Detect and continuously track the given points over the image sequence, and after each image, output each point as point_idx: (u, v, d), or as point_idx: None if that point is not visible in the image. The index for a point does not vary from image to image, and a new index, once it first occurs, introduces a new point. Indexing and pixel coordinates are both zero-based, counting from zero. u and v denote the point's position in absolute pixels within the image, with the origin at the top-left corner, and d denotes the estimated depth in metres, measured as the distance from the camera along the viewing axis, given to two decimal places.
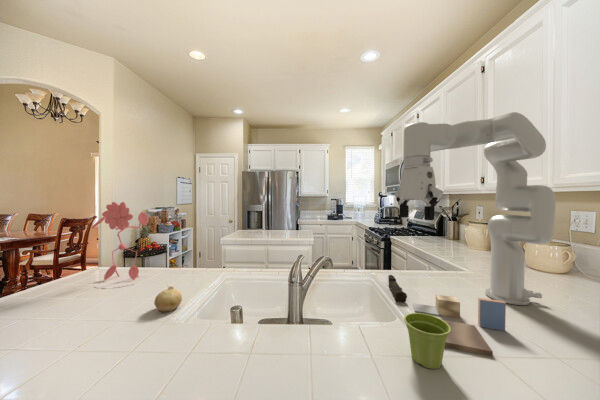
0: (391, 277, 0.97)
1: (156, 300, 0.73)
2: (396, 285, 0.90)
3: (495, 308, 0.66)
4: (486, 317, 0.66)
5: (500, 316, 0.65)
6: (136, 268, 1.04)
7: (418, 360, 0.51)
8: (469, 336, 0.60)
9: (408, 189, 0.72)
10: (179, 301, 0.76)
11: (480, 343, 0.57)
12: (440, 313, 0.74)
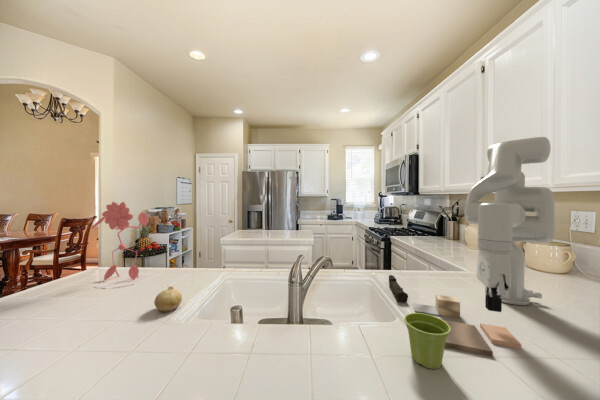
0: (391, 277, 0.97)
1: (156, 300, 0.73)
2: (397, 285, 0.90)
3: None
4: None
5: None
6: (136, 268, 1.04)
7: (418, 360, 0.51)
8: (469, 336, 0.60)
9: None
10: (179, 301, 0.76)
11: (480, 343, 0.57)
12: (440, 313, 0.74)
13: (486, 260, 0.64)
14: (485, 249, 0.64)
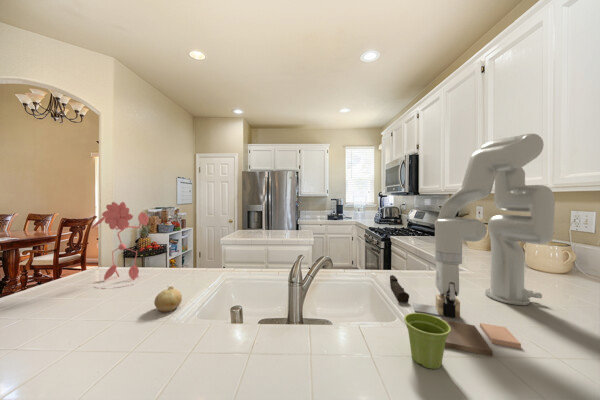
0: (393, 277, 0.96)
1: (156, 300, 0.73)
2: (398, 285, 0.90)
3: None
4: None
5: None
6: (136, 268, 1.04)
7: (418, 360, 0.51)
8: (469, 336, 0.60)
9: None
10: (179, 301, 0.76)
11: (480, 343, 0.57)
12: (440, 313, 0.74)
13: (440, 270, 0.73)
14: (439, 260, 0.74)
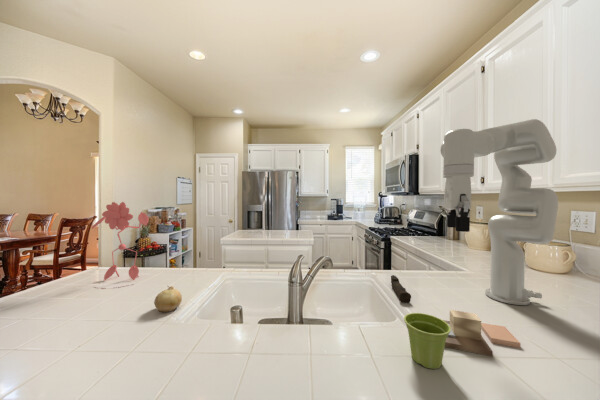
0: (394, 277, 0.96)
1: (156, 300, 0.73)
2: (399, 285, 0.90)
3: None
4: None
5: None
6: (136, 268, 1.04)
7: (418, 360, 0.51)
8: None
9: None
10: (179, 301, 0.76)
11: (480, 343, 0.57)
12: (456, 333, 0.60)
13: (449, 184, 0.67)
14: (449, 174, 0.67)
